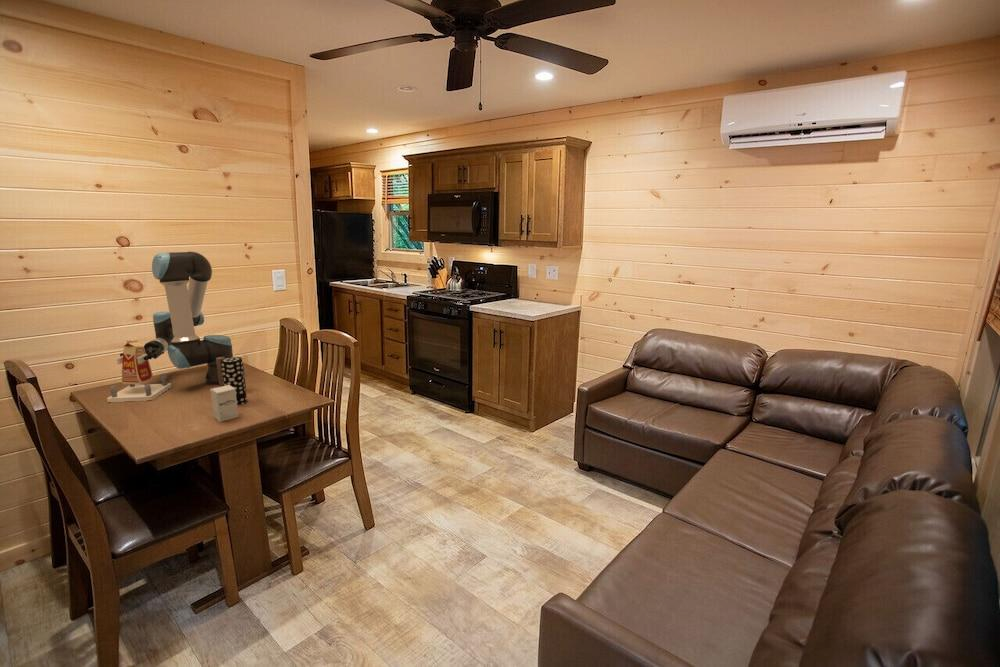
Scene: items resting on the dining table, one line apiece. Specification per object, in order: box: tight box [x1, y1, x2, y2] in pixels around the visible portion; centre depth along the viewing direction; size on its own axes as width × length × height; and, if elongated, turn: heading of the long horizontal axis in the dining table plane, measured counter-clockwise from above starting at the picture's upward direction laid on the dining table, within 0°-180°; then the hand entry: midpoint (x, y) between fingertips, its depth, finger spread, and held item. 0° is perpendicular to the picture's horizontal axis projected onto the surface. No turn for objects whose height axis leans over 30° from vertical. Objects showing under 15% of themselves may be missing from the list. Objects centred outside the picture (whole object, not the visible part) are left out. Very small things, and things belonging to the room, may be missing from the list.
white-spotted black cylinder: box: [220, 356, 248, 406], centre depth 215 cm, size 8×8×20 cm
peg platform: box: [106, 373, 173, 403], centre depth 225 cm, size 18×18×7 cm
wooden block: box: [216, 357, 247, 390], centre depth 227 cm, size 4×11×18 cm, turn 134°
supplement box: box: [209, 385, 239, 423], centre depth 200 cm, size 7×7×13 cm
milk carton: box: [121, 339, 154, 385], centre depth 223 cm, size 9×9×20 cm
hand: (128, 361), depth 218 cm, fingers closed on milk carton, 8 cm apart
